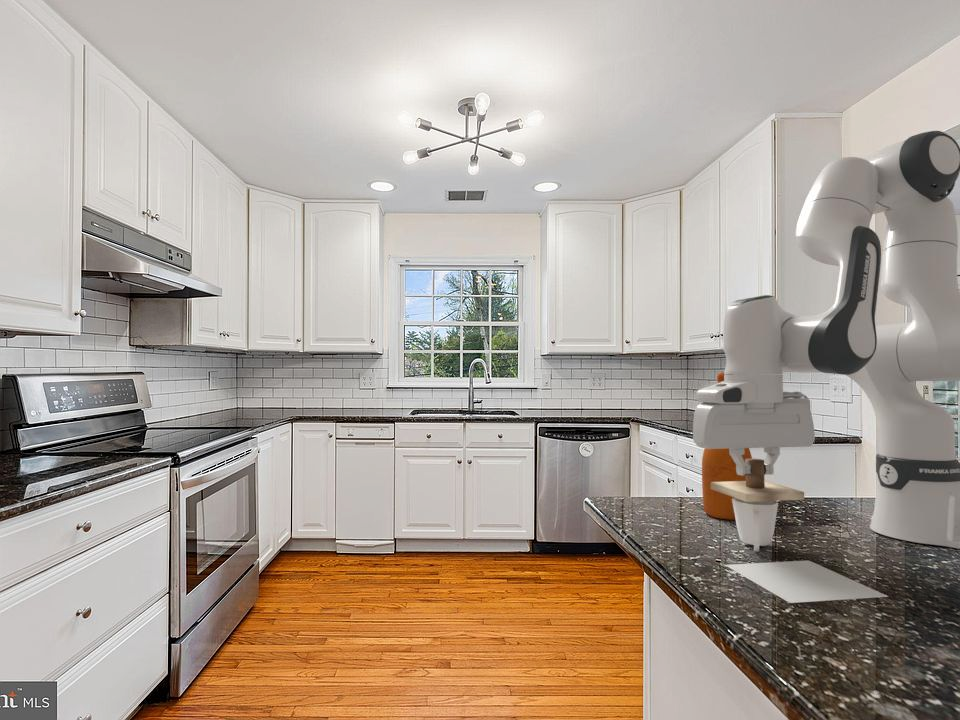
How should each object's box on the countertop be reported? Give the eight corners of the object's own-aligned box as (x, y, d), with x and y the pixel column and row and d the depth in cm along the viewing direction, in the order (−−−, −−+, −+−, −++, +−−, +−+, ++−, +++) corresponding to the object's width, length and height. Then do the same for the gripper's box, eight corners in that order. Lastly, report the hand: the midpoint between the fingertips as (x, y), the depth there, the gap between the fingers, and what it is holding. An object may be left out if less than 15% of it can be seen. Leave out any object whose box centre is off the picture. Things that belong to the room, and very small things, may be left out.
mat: (808, 563, 84) (808, 560, 84) (888, 600, 70) (888, 596, 70) (724, 568, 82) (724, 564, 82) (790, 606, 68) (789, 602, 68)
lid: (763, 487, 96) (762, 454, 96) (804, 499, 86) (803, 463, 87) (710, 488, 95) (710, 456, 95) (746, 501, 85) (745, 465, 85)
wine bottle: (763, 521, 108) (760, 371, 109) (714, 521, 108) (711, 371, 109) (740, 509, 118) (738, 372, 119) (695, 509, 118) (693, 372, 119)
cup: (777, 545, 93) (776, 497, 94) (782, 563, 84) (781, 510, 85) (732, 540, 96) (731, 494, 97) (732, 556, 87) (731, 506, 87)
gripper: (795, 391, 96) (797, 469, 95) (687, 391, 93) (688, 473, 92) (823, 391, 89) (825, 476, 89) (707, 392, 87) (709, 479, 86)
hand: (754, 474), depth 91 cm, fingers closed on lid, 3 cm apart
